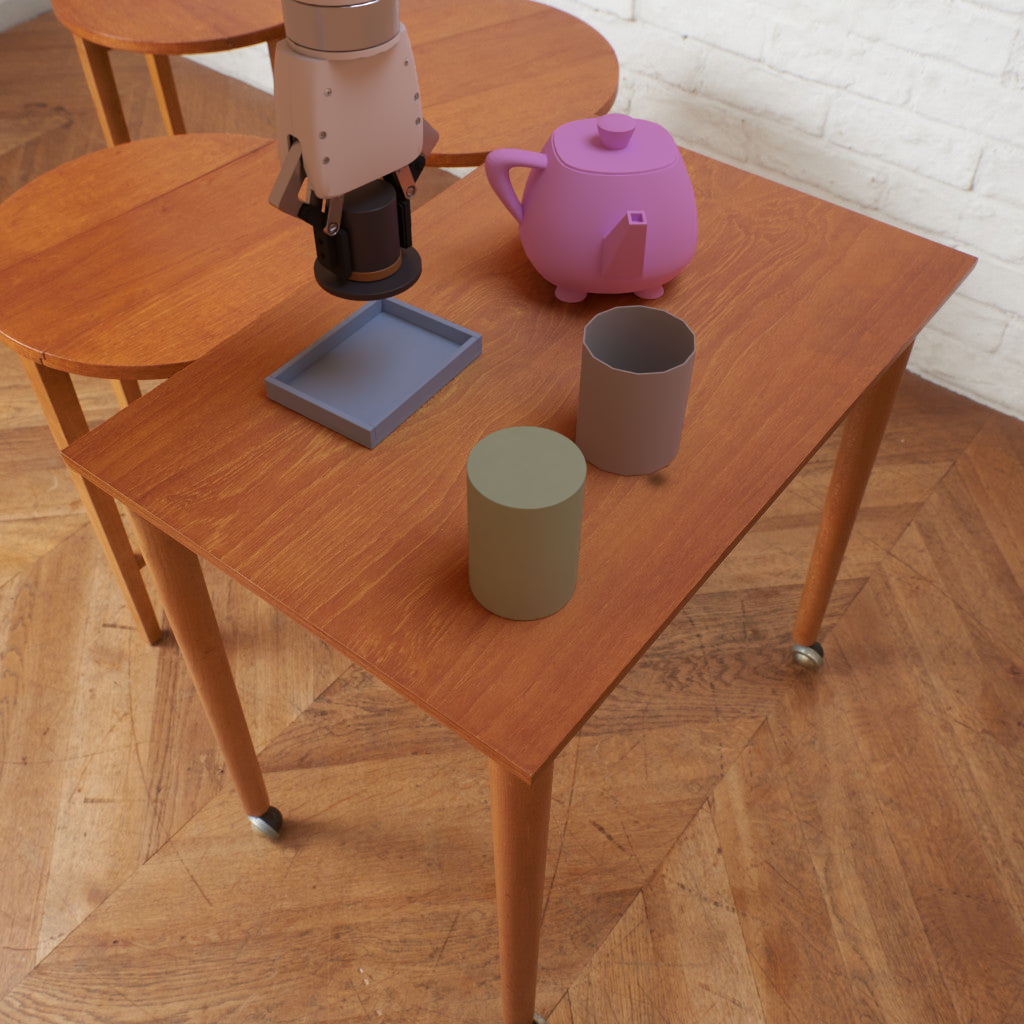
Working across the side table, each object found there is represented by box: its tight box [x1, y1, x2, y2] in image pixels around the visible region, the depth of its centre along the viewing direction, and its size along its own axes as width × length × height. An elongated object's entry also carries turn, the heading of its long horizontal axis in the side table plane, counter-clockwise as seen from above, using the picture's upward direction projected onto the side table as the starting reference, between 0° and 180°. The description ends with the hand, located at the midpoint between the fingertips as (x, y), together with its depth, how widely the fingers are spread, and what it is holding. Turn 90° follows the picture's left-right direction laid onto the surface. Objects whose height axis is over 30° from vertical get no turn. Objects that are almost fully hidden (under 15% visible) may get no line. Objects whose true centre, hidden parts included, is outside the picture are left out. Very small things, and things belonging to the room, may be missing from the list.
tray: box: [263, 296, 483, 450], centre depth 89 cm, size 15×11×2 cm
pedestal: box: [465, 425, 588, 621], centre depth 70 cm, size 8×8×11 cm
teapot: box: [484, 113, 699, 304], centre depth 94 cm, size 20×20×15 cm
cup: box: [574, 304, 697, 477], centre depth 81 cm, size 8×8×10 cm
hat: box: [313, 178, 423, 302], centre depth 80 cm, size 8×8×7 cm
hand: (366, 254), depth 81 cm, fingers closed on hat, 5 cm apart
